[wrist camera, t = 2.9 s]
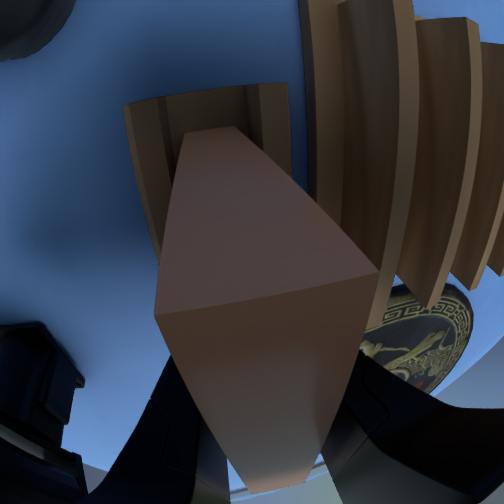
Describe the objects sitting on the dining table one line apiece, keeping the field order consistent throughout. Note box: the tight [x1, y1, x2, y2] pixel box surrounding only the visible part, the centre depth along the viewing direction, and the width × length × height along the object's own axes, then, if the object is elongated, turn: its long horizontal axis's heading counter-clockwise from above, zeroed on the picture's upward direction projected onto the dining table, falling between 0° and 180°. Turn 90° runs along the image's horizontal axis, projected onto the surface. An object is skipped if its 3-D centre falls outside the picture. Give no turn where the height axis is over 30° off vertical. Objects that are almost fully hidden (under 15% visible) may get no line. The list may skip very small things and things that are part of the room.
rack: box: [298, 0, 504, 330], centre depth 10 cm, size 14×14×4 cm
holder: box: [122, 83, 292, 266], centre depth 11 cm, size 6×12×3 cm, turn 5°
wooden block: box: [154, 126, 379, 494], centre depth 8 cm, size 2×9×9 cm, turn 5°
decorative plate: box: [319, 283, 474, 454], centre depth 25 cm, size 30×2×30 cm
